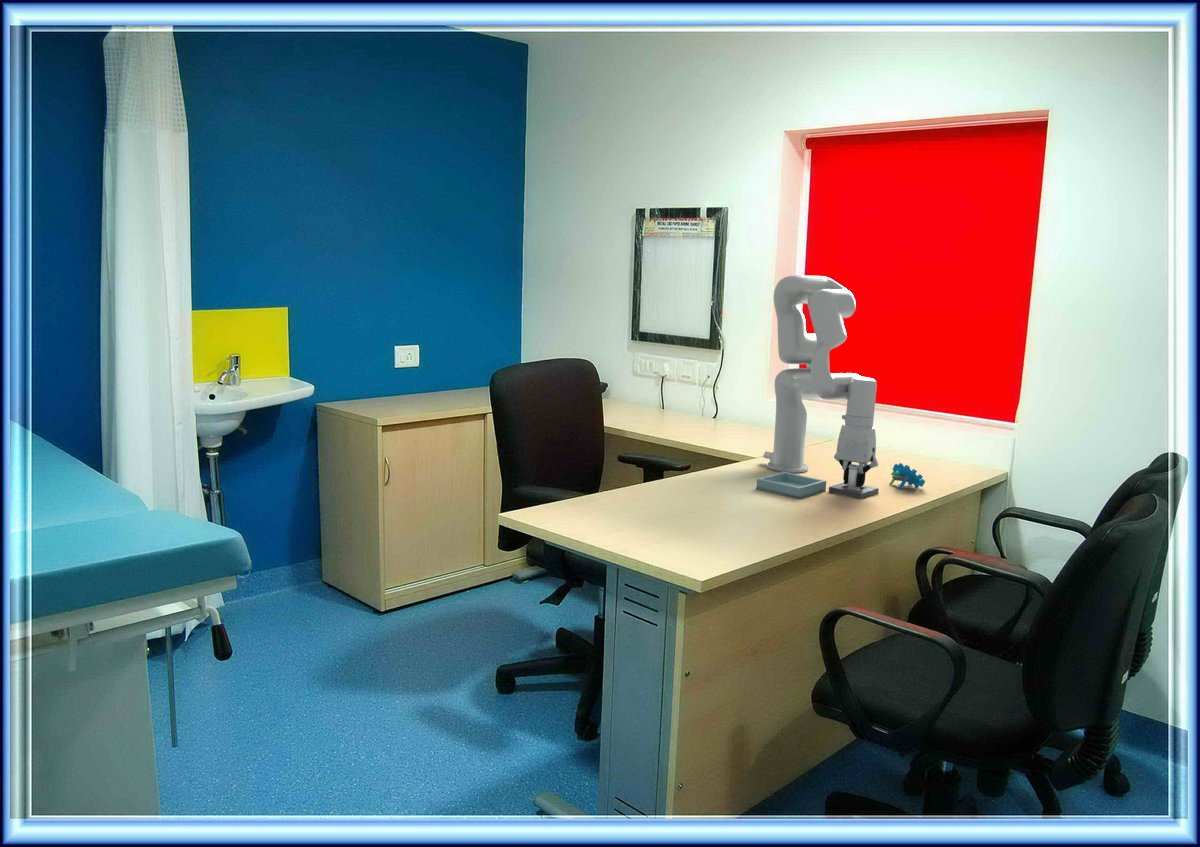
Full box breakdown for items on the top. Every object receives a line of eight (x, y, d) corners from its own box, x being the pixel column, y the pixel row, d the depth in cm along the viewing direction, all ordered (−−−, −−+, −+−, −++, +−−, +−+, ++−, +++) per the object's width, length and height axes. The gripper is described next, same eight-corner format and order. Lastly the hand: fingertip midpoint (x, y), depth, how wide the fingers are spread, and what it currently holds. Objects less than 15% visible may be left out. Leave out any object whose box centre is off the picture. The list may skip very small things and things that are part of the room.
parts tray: (756, 489, 255) (757, 478, 254) (783, 481, 265) (784, 471, 264) (798, 499, 245) (799, 488, 245) (825, 491, 255) (826, 480, 254)
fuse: (844, 490, 255) (846, 465, 253) (850, 488, 257) (852, 463, 256) (855, 493, 252) (857, 467, 251) (861, 491, 255) (864, 465, 253)
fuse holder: (828, 491, 254) (829, 486, 254) (846, 486, 261) (847, 481, 261) (860, 498, 247) (861, 493, 247) (878, 493, 254) (878, 488, 254)
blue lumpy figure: (932, 485, 259) (913, 462, 256) (921, 501, 258) (902, 478, 254) (905, 481, 269) (886, 459, 266) (894, 496, 268) (875, 474, 264)
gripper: (826, 418, 254) (821, 481, 257) (880, 427, 243) (873, 493, 246) (839, 415, 259) (834, 477, 263) (893, 424, 248) (886, 488, 251)
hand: (853, 484), depth 254 cm, fingers closed on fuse, 3 cm apart
